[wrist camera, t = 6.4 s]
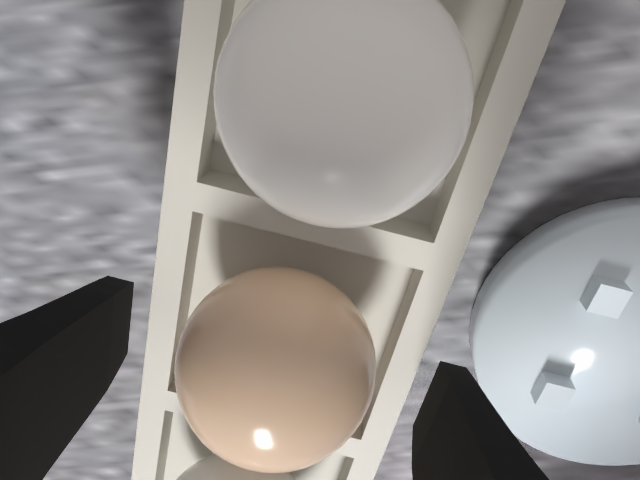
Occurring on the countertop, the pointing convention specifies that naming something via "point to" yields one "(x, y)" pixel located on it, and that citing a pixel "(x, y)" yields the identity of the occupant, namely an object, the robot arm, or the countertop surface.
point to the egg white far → (226, 471)
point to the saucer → (567, 335)
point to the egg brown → (275, 369)
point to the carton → (322, 230)
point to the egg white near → (343, 105)
